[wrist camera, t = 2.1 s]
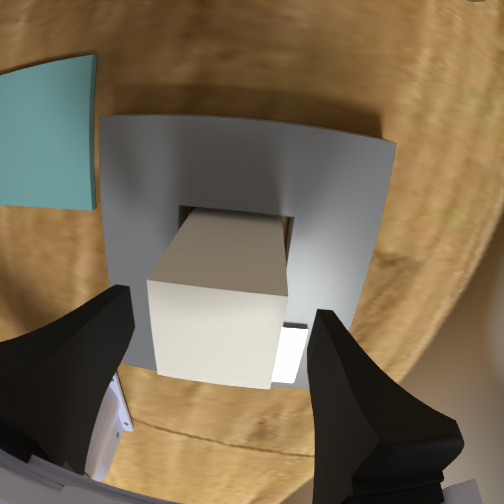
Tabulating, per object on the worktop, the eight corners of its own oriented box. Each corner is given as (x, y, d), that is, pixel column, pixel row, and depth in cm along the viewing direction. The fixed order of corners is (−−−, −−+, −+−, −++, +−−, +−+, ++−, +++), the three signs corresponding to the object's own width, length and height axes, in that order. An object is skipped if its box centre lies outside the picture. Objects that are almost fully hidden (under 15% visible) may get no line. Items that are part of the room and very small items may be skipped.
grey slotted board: (324, 368, 22) (327, 392, 20) (134, 345, 22) (123, 367, 20) (382, 138, 15) (399, 144, 13) (116, 114, 15) (96, 117, 13)
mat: (96, 208, 17) (92, 210, 17) (-2, 202, 18) (-6, 204, 17) (97, 55, 13) (92, 54, 13) (-7, 78, 14) (-12, 79, 13)
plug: (271, 283, 19) (269, 389, 12) (195, 275, 19) (157, 374, 12) (281, 211, 17) (288, 296, 10) (197, 203, 17) (146, 279, 10)
